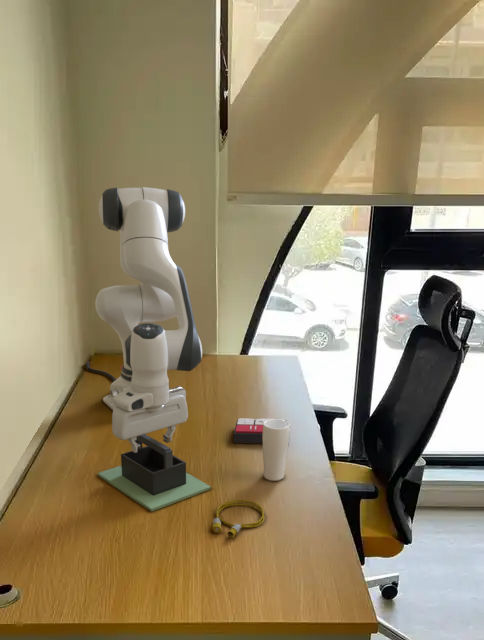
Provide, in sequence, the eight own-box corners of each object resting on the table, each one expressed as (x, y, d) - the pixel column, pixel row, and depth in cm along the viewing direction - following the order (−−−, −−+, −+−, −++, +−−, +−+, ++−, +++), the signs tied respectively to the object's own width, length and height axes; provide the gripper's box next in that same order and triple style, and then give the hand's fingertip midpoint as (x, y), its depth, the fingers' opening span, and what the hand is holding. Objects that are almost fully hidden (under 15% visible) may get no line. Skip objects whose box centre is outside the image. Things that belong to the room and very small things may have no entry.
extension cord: (192, 520, 158) (192, 513, 157) (241, 499, 168) (241, 491, 167) (228, 542, 150) (228, 534, 149) (277, 518, 160) (278, 510, 159)
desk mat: (97, 475, 177) (97, 472, 177) (155, 457, 188) (155, 454, 188) (151, 511, 161) (151, 508, 161) (210, 489, 172) (210, 486, 172)
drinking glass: (272, 468, 183) (275, 416, 177) (292, 477, 179) (295, 424, 172) (255, 476, 179) (257, 423, 172) (274, 485, 175) (277, 431, 168)
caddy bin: (121, 475, 176) (119, 436, 171) (154, 464, 182) (152, 426, 177) (153, 495, 167) (151, 455, 162) (186, 483, 173) (185, 444, 168)
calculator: (237, 416, 206) (287, 417, 204) (237, 430, 208) (287, 430, 206) (233, 431, 196) (286, 431, 195) (233, 444, 198) (285, 445, 196)
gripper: (177, 381, 172) (178, 432, 179) (107, 399, 160) (110, 452, 166) (193, 388, 168) (193, 439, 174) (121, 406, 156) (124, 461, 162)
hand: (152, 446), depth 170 cm, fingers open, 8 cm apart
